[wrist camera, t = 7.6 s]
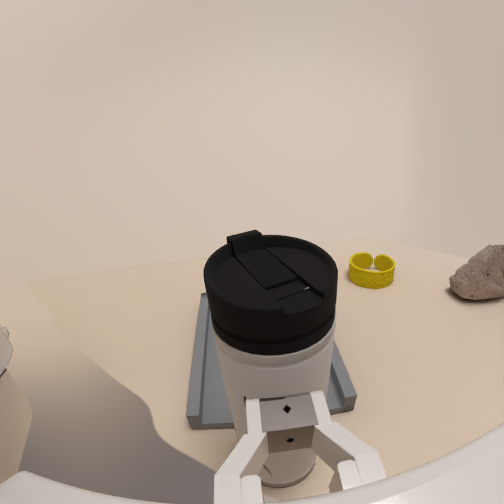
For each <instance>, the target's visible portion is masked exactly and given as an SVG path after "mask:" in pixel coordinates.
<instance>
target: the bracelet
mask: <svg viewBox="0 0 504 504" xmlns="http://www.w3.org/2000/svg"><path fill="white" fill-rule="evenodd" d="M372 263H373V258H372V256H371V255H370V254H369V253H356V254H354V255H352V256H351V258H350V264H349V279H350V280H351V281H352V282H353V283H355V284H356V285H358V286H361V287H365V288H371V289H379V288H384V287H387V286H389V285H390V284H391V283H392V281H393V275H394V269H395V262H394V260H393V259H392V258H390V257H389V256H387V255H383V254H381V255H378V256H377V257H376V258H375V259H374V265H375V267H376V268H377V269H378V270H381V272H374V271H368V270H364V269H366V268H369V267H370V266H371V265H372Z"/></svg>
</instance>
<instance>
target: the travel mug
mask: <svg viewBox="0 0 504 504" xmlns="http://www.w3.org/2000/svg"><path fill="white" fill-rule="evenodd" d="M337 280H338V269H337V266H336V263H335V262H334V260H333V259H332V257H331V256H330V255H329V254H328V253H327V252H326V251H325V250H323V249H322V248H320V247H318V246H317V245H315V244H313V243H311V242H308V241H306V240H302V239H299V238H294V237H289V236H281V235H262V234H261V233H260V232H258V231H257V230H252V231H248V232H244V233H240V234H236V235H232V236H227V244H226V245H224V246H222V247H221V248H219V249H218V250H216V251H215V252H214V253H213V254H212V255H211V256H210V257H209V259H208V260H207V262H206V264H205V267H204V282H205V287H206V293H207V298H208V304H209V309H210V311H211V321H212V330H213V333H214V340H215V345H216V349H217V354H218V359H219V363H220V368H221V372H222V377H223V381H224V385H225V390H226V394H227V398H228V402H229V407H230V411H231V415H232V419H233V423H234V427H235V431H236V435H237V438H238V442H239V441H240V439H241V438H242V436H243V435H244V434H248V432H247V418H246V400H249V399H261V398H272V397H282V396H286V395H293V394H299V393H305V392H313V391H319V390H322V391H323V393H324V396H325V399H326V397H327V390H328V383H329V376H330V368H331V360H332V351H333V342H334V331H335V322H336V312H335V305H336V296H337ZM259 405H260V403H259ZM260 413H261V412H260ZM315 459H316V453H315V452H314V451H313V450H312V449H311V448H305V449H298V450H290V451H283V452H277V453H269V455H268V457H267V459H266V461H265V463H264V465H263V466H262V468H261V470H260V472H259V473H258V475H257V476H259V477H260V479H261V484H263V485H266V486H269V487H287V486H291V485H294V484H296V483H298V482H300V481H302V480H303V479H304V478H306V477H307V476H308V475H309V473H310V472H311V471H312V469H313V466H314V464H315Z"/></svg>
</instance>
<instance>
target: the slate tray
mask: <svg viewBox="0 0 504 504" xmlns="http://www.w3.org/2000/svg"><path fill="white" fill-rule="evenodd" d="M356 397H357V394H356V391H355V389H354V387H353V384H352V382H351V379H350V377H349V374H348V372H347V370H346V367H345V365H344V362H343V360H342V358H341V355H340V353H339V351H338V348H337V346H336V344H335V341H334V342H333V351H332V360H331V368H330V376H329V383H328V390H327V397H326V402H327V406H328V409H329V412H330V415H332V414H336V413H341V412H346V411H350V410H353V408H354V405H355V401H356ZM186 416H187V419H188V421H189V423H190V425H191V428H192V429H219V428H235V427H234V423H233V419H232V415H231V411H230V407H229V402H228V398H227V394H226V390H225V385H224V381H223V377H222V372H221V368H220V363H219V359H218V354H217V349H216V345H215V340H214V333H213V330H212V321H211V311H210V309H209V304H208V298H207V293H201V300H200V307H199V314H198V321H197V328H196V336H195V343H194V351H193V359H192V368H191V376H190V385H189V394H188V403H187V413H186Z"/></svg>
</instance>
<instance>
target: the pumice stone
mask: <svg viewBox="0 0 504 504" xmlns="http://www.w3.org/2000/svg"><path fill="white" fill-rule="evenodd" d="M449 280H450V285H451V286H450V287H451V290H452V291H453V292H454V293H456V294H458V295H459V296H460V297H462V298H466V299H473V300H480V299H487V298H489V299H490V298H498V297H504V245H494V246H491V245H489V246H487V247H485V248H484V249H483V250H481V251H480V252H478V253H477V254H476V255H475V256H473V257H472V258H470V260H469V261H468V263H467V264H464V265H463V266H461V267H460V268H459V269H458V270H456V274H455V275H452V276H451V277H450V278H449Z"/></svg>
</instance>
